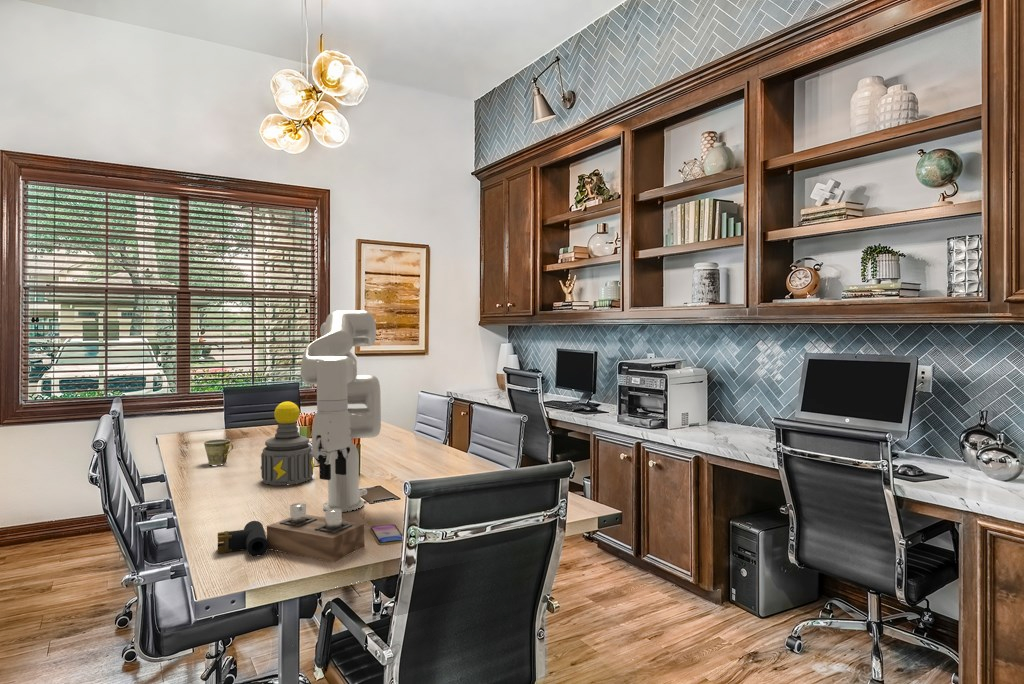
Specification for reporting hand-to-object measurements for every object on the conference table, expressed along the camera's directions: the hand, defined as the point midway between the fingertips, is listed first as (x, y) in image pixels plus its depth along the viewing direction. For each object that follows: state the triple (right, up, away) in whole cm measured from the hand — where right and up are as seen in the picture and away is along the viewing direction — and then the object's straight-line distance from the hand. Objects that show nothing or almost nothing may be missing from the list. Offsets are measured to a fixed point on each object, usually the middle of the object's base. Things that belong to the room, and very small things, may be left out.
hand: (333, 476), depth 158 cm
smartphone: (+11, -20, +13) cm, 26 cm away
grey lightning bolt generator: (-39, -18, +75) cm, 86 cm away
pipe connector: (-25, -20, +3) cm, 32 cm away
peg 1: (-11, -15, +5) cm, 19 cm away
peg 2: (0, -15, 0) cm, 15 cm away
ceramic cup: (-77, -18, +102) cm, 129 cm away
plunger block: (-5, -19, +3) cm, 20 cm away
